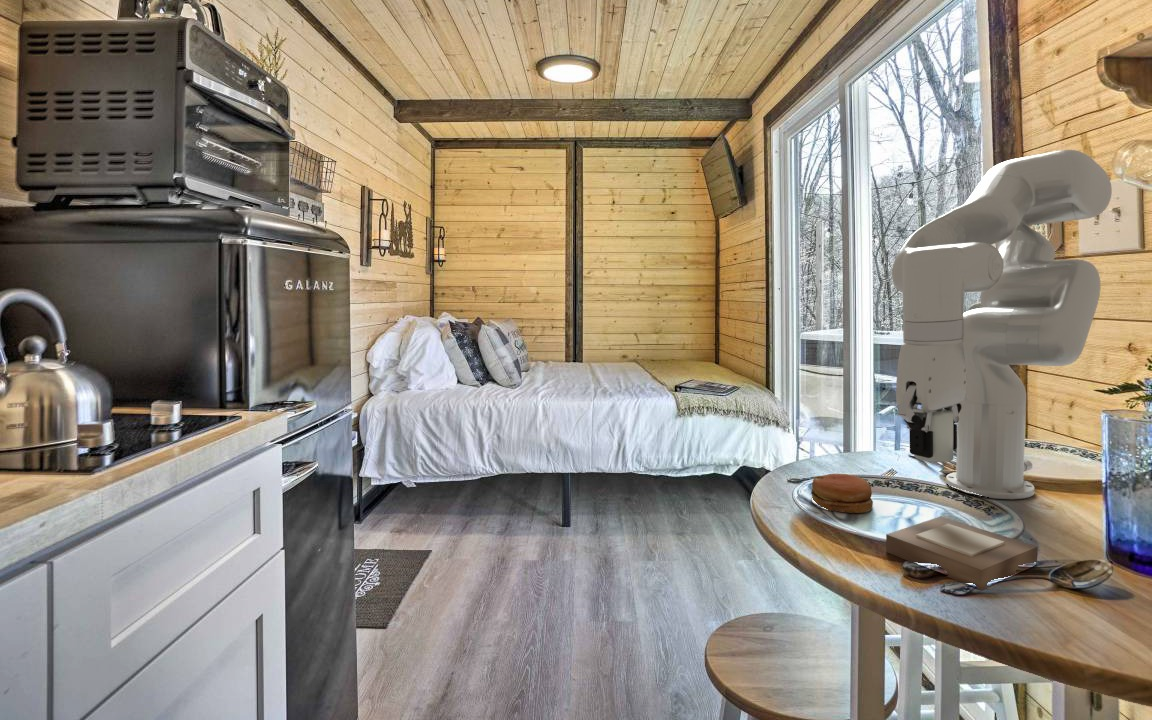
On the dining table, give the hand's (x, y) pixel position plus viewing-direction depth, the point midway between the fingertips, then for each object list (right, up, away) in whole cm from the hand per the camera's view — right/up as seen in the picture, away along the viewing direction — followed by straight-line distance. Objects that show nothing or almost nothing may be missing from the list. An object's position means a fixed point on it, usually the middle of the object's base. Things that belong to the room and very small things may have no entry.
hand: (933, 450), depth 85 cm
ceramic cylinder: (0, -1, 0) cm, 1 cm away
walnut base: (-4, -12, -11) cm, 17 cm away
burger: (-9, -11, +10) cm, 18 cm away
